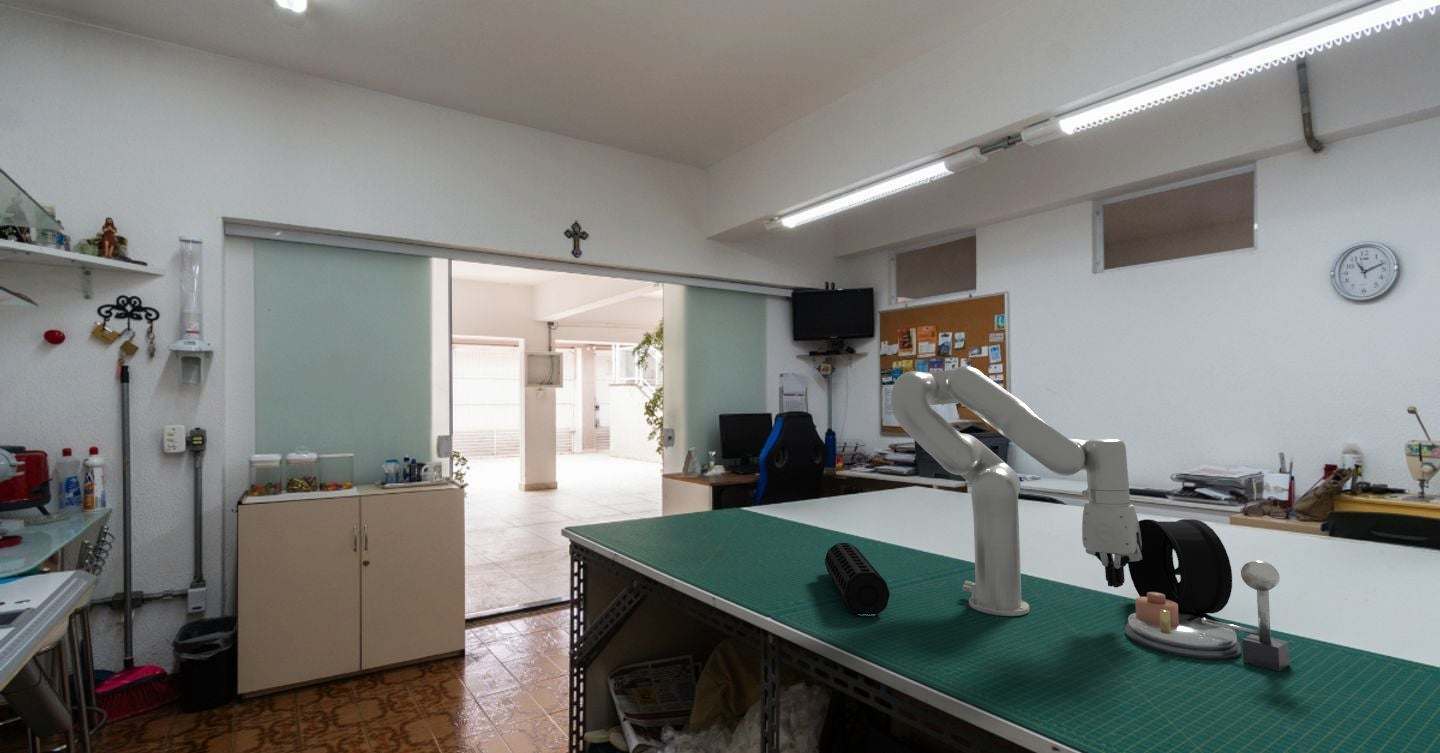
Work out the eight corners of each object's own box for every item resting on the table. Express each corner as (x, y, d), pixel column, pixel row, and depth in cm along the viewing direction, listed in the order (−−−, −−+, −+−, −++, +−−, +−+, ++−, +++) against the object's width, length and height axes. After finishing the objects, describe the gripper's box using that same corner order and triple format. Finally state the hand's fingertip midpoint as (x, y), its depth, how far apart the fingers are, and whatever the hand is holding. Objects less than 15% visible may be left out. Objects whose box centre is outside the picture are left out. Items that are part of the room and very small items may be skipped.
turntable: (1112, 629, 126) (1111, 601, 126) (1151, 613, 135) (1150, 586, 135) (1216, 657, 111) (1214, 625, 112) (1251, 637, 121) (1250, 607, 121)
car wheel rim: (1234, 627, 131) (1230, 528, 131) (1182, 626, 131) (1178, 528, 132) (1173, 597, 151) (1169, 512, 151) (1128, 596, 151) (1125, 512, 152)
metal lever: (1196, 649, 119) (1192, 552, 120) (1207, 643, 122) (1203, 548, 122) (1279, 671, 109) (1274, 565, 110) (1289, 664, 112) (1284, 561, 113)
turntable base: (1108, 637, 126) (1108, 630, 126) (1150, 619, 136) (1149, 613, 136) (1218, 667, 111) (1218, 660, 111) (1256, 645, 121) (1255, 638, 121)
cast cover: (1129, 618, 128) (1128, 593, 128) (1145, 611, 132) (1144, 587, 132) (1169, 628, 122) (1168, 601, 122) (1184, 621, 126) (1183, 595, 126)
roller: (816, 566, 177) (827, 532, 177) (850, 577, 176) (861, 542, 177) (839, 611, 139) (852, 566, 139) (882, 625, 138) (896, 580, 139)
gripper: (1064, 496, 139) (1070, 582, 138) (1139, 502, 126) (1147, 596, 125) (1081, 493, 143) (1087, 576, 142) (1156, 498, 131) (1163, 589, 129)
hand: (1115, 585), depth 133 cm, fingers closed
